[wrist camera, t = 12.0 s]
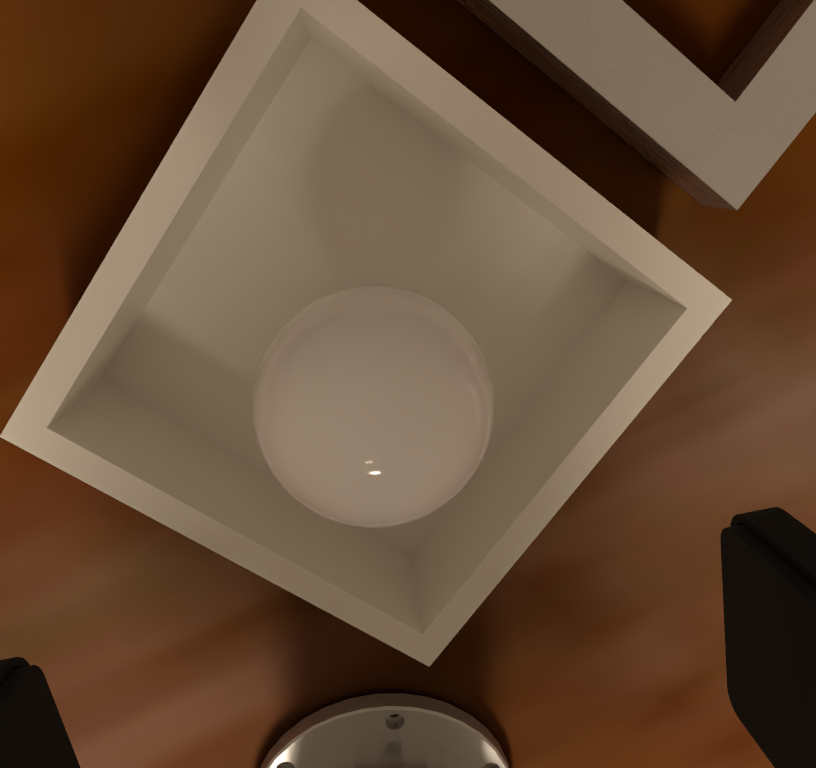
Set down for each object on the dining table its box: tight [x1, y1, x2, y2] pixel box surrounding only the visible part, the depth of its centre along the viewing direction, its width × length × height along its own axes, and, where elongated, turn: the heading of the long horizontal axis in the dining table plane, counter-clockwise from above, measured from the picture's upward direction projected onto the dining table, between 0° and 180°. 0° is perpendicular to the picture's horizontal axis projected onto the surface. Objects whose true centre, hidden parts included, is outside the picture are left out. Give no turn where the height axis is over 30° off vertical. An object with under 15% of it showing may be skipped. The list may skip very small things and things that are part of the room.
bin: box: [0, 0, 732, 667], centre depth 24 cm, size 16×16×6 cm
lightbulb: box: [252, 286, 495, 528], centre depth 21 cm, size 6×6×11 cm
